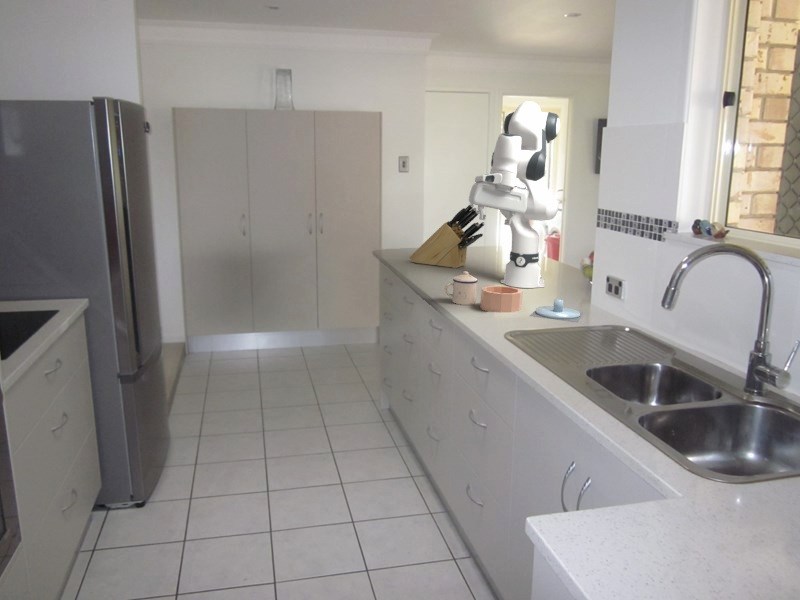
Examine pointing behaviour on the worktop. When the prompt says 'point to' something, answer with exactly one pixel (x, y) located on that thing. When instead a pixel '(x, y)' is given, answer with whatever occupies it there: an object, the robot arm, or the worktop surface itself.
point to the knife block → (450, 241)
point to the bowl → (501, 299)
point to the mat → (558, 319)
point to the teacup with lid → (463, 289)
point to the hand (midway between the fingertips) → (494, 222)
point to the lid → (557, 311)
